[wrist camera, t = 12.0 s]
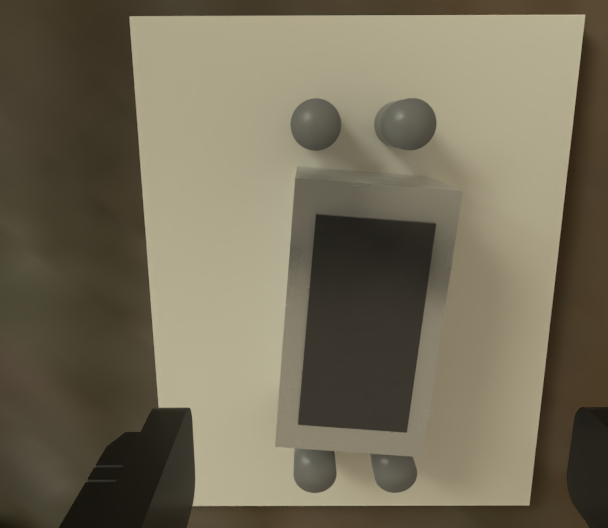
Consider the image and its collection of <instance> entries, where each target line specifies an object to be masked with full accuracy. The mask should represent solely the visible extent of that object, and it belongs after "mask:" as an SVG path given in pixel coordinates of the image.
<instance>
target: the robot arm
mask: <svg viewBox="0 0 608 528" xmlns="http://www.w3.org/2000/svg"><path fill="white" fill-rule="evenodd" d="M567 486H568V491H569V494H570V497H571V500H572V502H573V504H574V506H575V507H576V509H577V510H578V512H579V513H580V514H581V516H582V517H583V519H584V520H585V521H586V523H587V524H588V526H589V527H590V528H608V407H582V408H580V409H579V410H578V411H577V413H576V415H575V419H574V425H573V433H572V440H571V447H570V454H569V461H568V469H567ZM194 492H195V460H194V441H193V423H192V413H191V409H190V408H153V409H152V410H151V412H150V414H149V416H148V418H147V420H146V422H145V424H144V426H143V428H142V430H141V432H125V433H124V434H122V435H121V436H120V437H119V438H117V439H116V440H115V441H113V442H112V443H111V444H110V445H108V446H107V447H106V449H105V450H104V452H103V454H102V455H101V457H100V459H99V460H98V462H97V464H96V468H94V469H93V471H92V472H91V474H90V476H89V477H88V482H86V483H85V484H84V486H83V488H82V489H81V491H80V493H79V494H78V496H77V498H76V500H75V501H74V503H73V505H72V506H71V508H70V510H69V512H68V513H67V515H66V517H65V518H64V520H63V522H62V523H61V525H60V527H59V528H187V524H188V520H189V517H190V513H191V509H192V505H193V500H194Z"/></svg>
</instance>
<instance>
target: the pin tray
mask: <svg viewBox="0 0 608 528" xmlns="http://www.w3.org/2000/svg"><path fill="white" fill-rule="evenodd" d="M129 19H130V32H131V46H132V59H133V72H134V86H135V99H136V112H137V125H138V139H139V152H140V165H141V179H142V192H143V205H144V218H145V232H146V245H147V258H148V271H149V285H150V298H151V311H152V325H153V338H154V351H155V364H156V378H157V391H158V404H159V408H190V409H191V413H192V423H193V441H194V460H195V492H194V500H193V505H192V506H476V505H529V504H530V495H531V487H532V478H533V469H534V460H535V451H536V443H537V434H538V425H539V416H540V408H541V399H542V390H543V381H544V373H545V364H546V355H547V346H548V338H549V329H550V320H551V311H552V303H553V294H554V285H555V276H556V268H557V259H558V250H559V241H560V233H561V224H562V215H563V206H564V198H565V189H566V180H567V171H568V162H569V154H570V145H571V136H572V127H573V119H574V110H575V101H576V92H577V84H578V75H579V66H580V57H581V49H582V40H583V31H584V22H585V15H354V16H129ZM297 166H302V167H315V168H327V169H340V170H352V171H364V172H377V173H389V174H402V175H414V176H427V177H431V178H434V179H436V180H438V181H440V182H443V183H445V184H447V185H450V186H452V187H454V188H456V189H459V190H461V191H463V193H462V200H461V206H460V213H459V220H458V226H457V233H456V240H455V246H454V253H453V260H452V266H451V273H450V280H449V286H448V293H447V299H446V306H445V313H444V319H443V326H442V333H441V339H440V346H439V353H438V359H437V366H436V373H435V379H434V386H433V393H432V399H431V406H430V412H429V419H428V426H427V432H426V439H425V446H424V452H423V457H411V456H397V455H383V454H369V453H355V452H340V451H326V450H312V449H298V448H284V447H275V440H276V427H277V413H278V400H279V387H280V373H281V360H282V347H283V333H284V320H285V307H286V293H287V280H288V267H289V253H290V240H291V226H292V213H293V200H294V186H295V176H296V170H297Z"/></svg>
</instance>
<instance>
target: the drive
mask: <svg viewBox="0 0 608 528" xmlns="http://www.w3.org/2000/svg"><path fill="white" fill-rule="evenodd" d="M462 193H463V191H461V190H459V189H456V188H454V187H452V186H450V185H447V184H445V183H443V182H440V181H438V180H436V179H434V178H431V177H427V176H414V175H402V174H389V173H377V172H364V171H352V170H340V169H327V168H315V167H302V166H297V170H296V176H295V186H294V200H293V213H292V226H291V240H290V253H289V267H288V280H287V293H286V307H285V320H284V333H283V347H282V360H281V373H280V387H279V400H278V413H277V427H276V440H275V447H284V448H298V449H312V450H326V451H340V452H355V453H369V454H383V455H397V456H411V457H423V452H424V446H425V439H426V432H427V426H428V419H429V412H430V406H431V399H432V393H433V386H434V379H435V373H436V366H437V359H438V353H439V346H440V339H441V333H442V326H443V319H444V313H445V306H446V299H447V293H448V286H449V280H450V273H451V266H452V260H453V253H454V246H455V240H456V233H457V226H458V220H459V213H460V206H461V200H462Z"/></svg>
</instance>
